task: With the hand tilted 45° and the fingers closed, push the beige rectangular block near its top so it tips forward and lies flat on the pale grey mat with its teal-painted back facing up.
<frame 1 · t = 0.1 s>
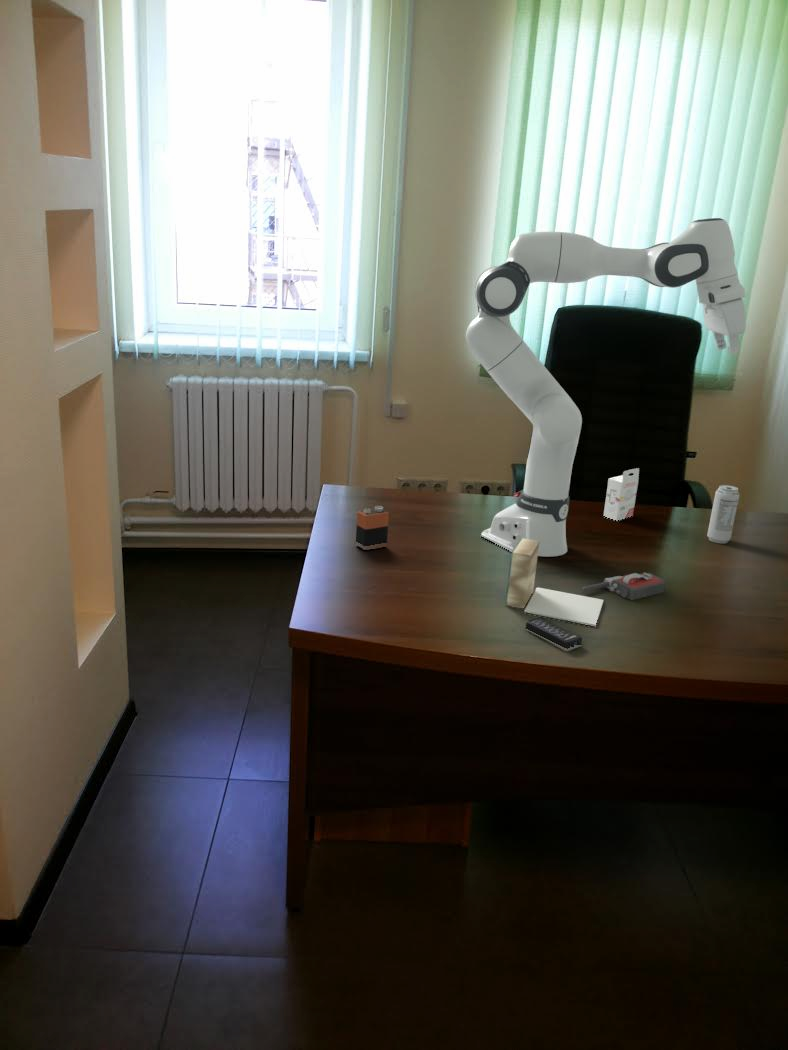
hand: (727, 351, 192), 52 cm above the table, tool tilted 20°, fingers open, 8 cm apart
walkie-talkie: (623, 594, 186), on the table
ink cartridge box: (617, 517, 241), on the table
multiport hub: (552, 640, 161), on the table
beige rectangular block: (519, 599, 178), on the table
energy drink can: (717, 541, 226), on the table
battery: (371, 547, 203), on the table
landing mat: (564, 607, 175), on the table
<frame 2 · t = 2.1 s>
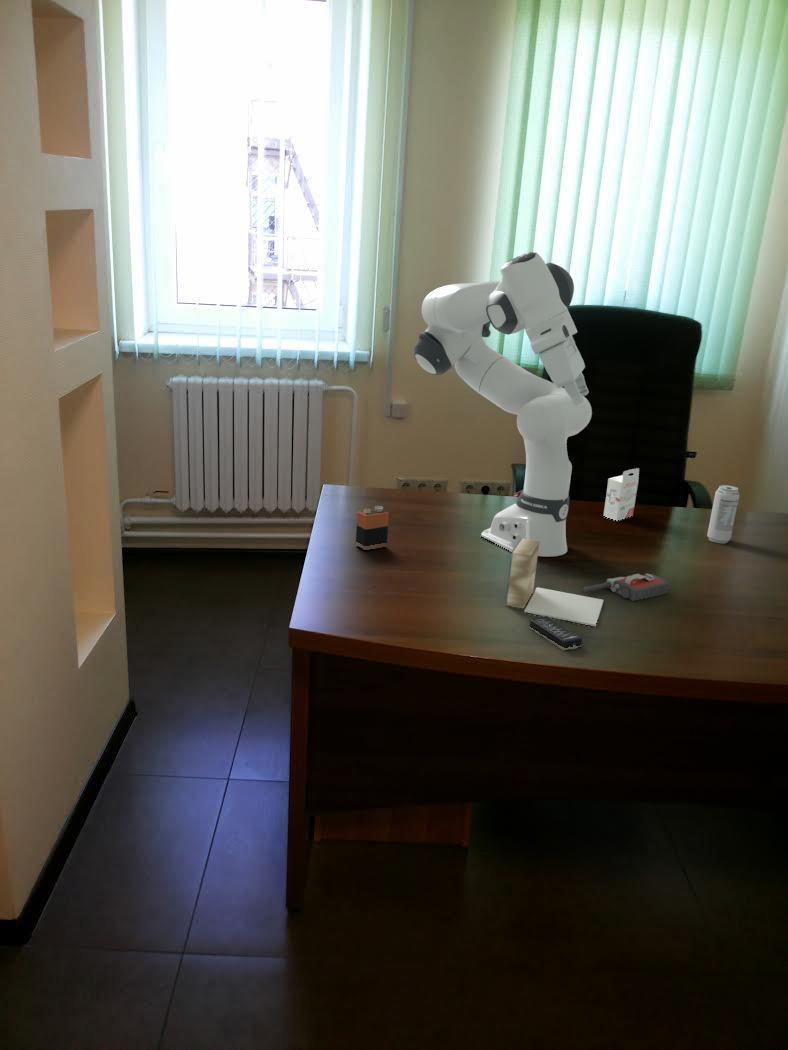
hand: (582, 399, 162), 44 cm above the table, tool tilted 30°, fingers open, 8 cm apart
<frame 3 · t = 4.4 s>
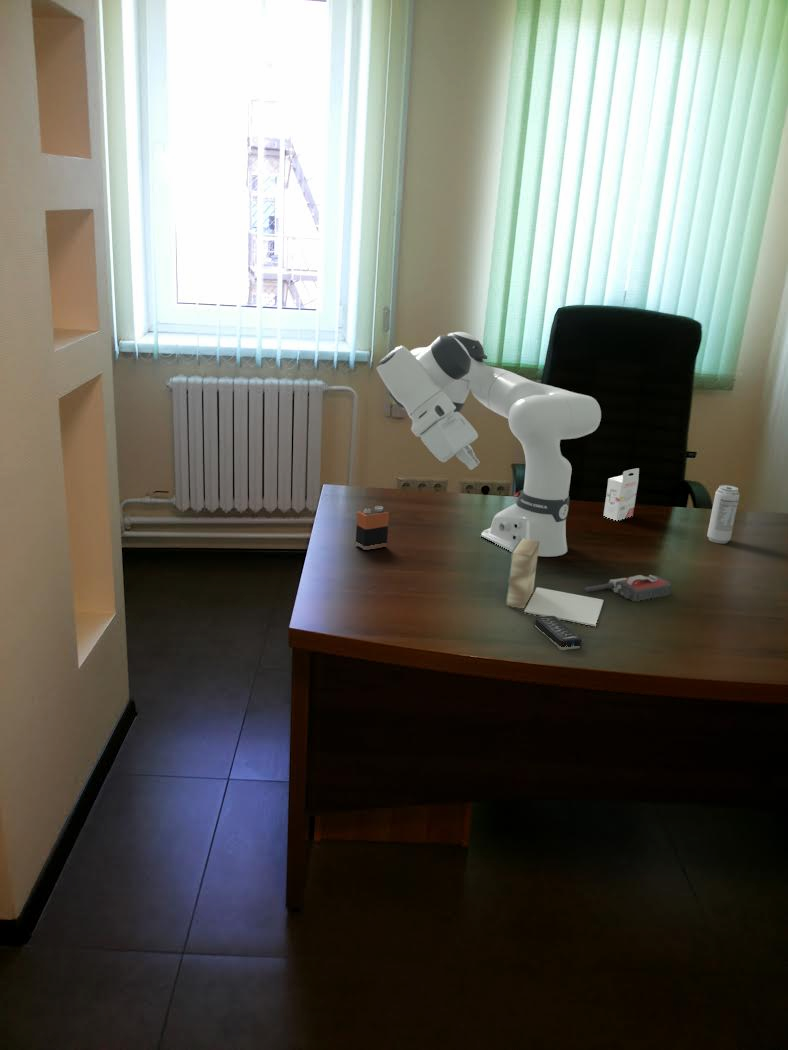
hand: (475, 466, 173), 27 cm above the table, tool tilted 45°, fingers closed
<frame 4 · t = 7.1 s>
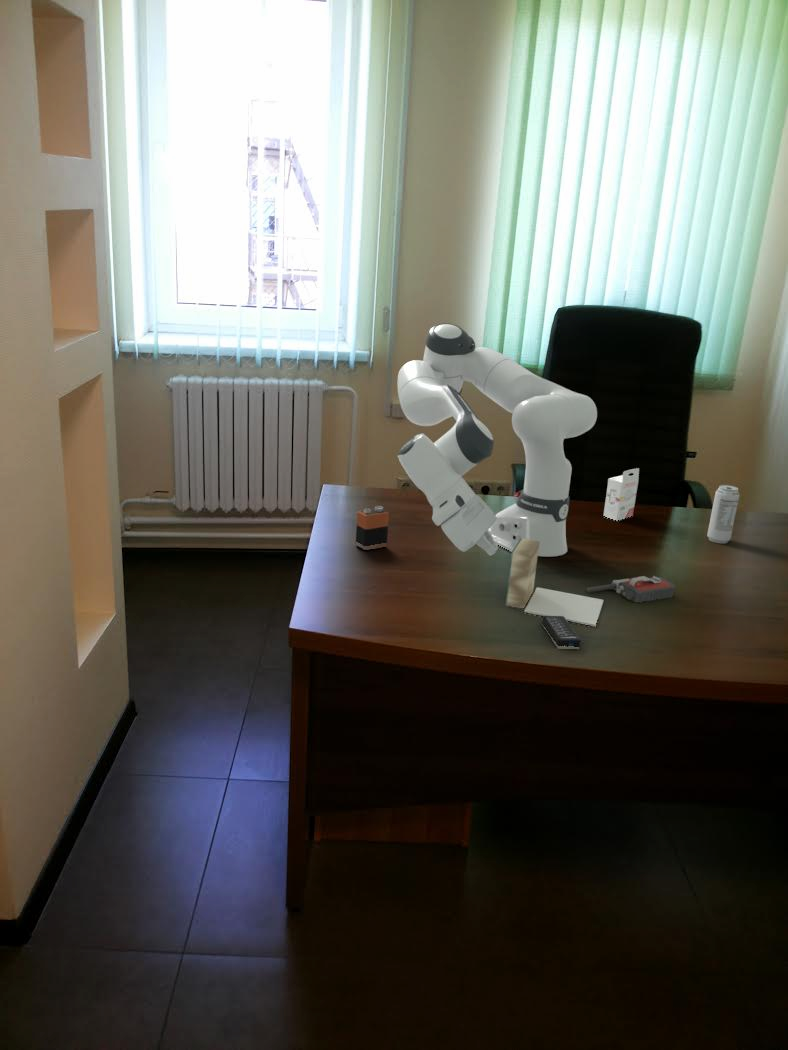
hand: (494, 552, 177), 9 cm above the table, tool tilted 45°, fingers closed
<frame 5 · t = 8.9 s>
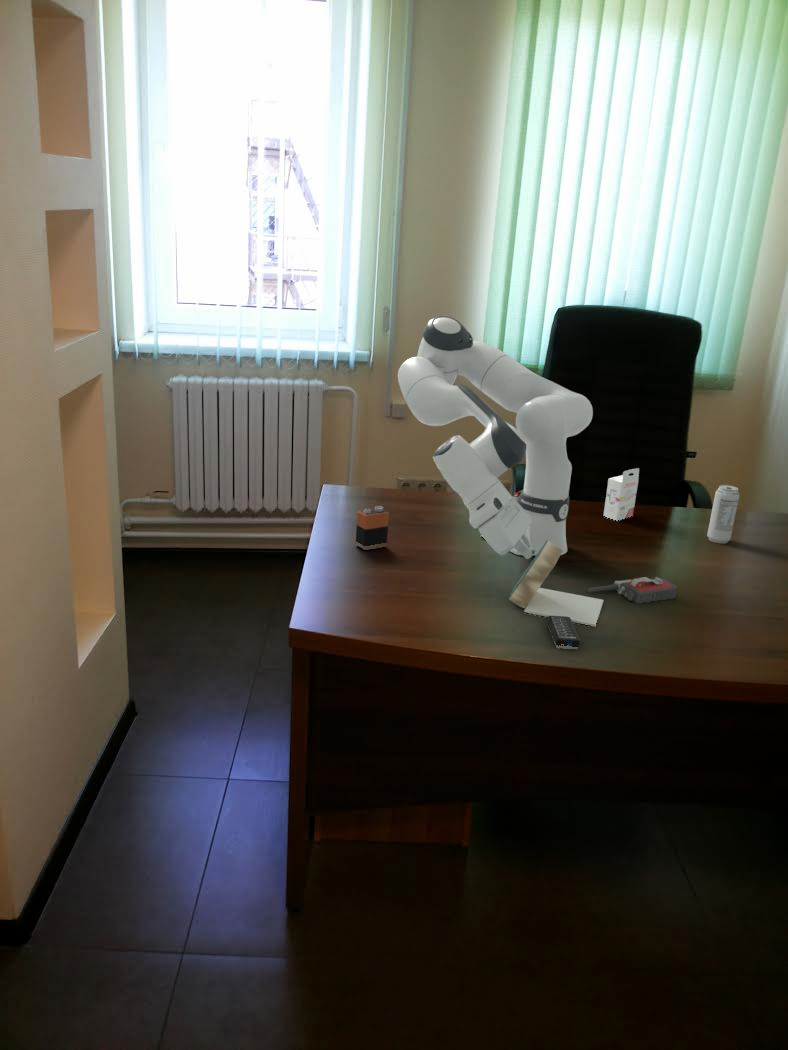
hand: (531, 555, 174), 10 cm above the table, tool tilted 45°, fingers closed
beige rectangular block: (520, 595, 178), point 1 cm above the table, tilted 25°
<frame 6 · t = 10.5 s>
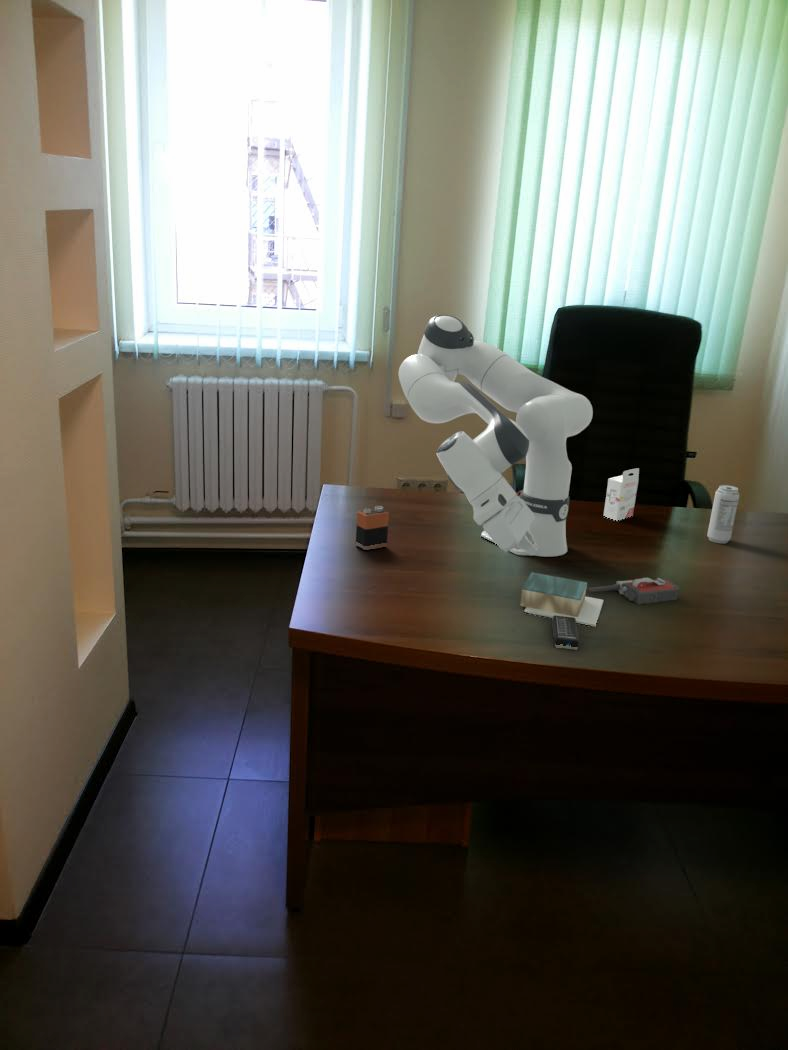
hand: (535, 552, 174), 11 cm above the table, tool tilted 45°, fingers closed
beige rectangular block: (526, 588, 177), point 3 cm above the table, tilted 90°, touching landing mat
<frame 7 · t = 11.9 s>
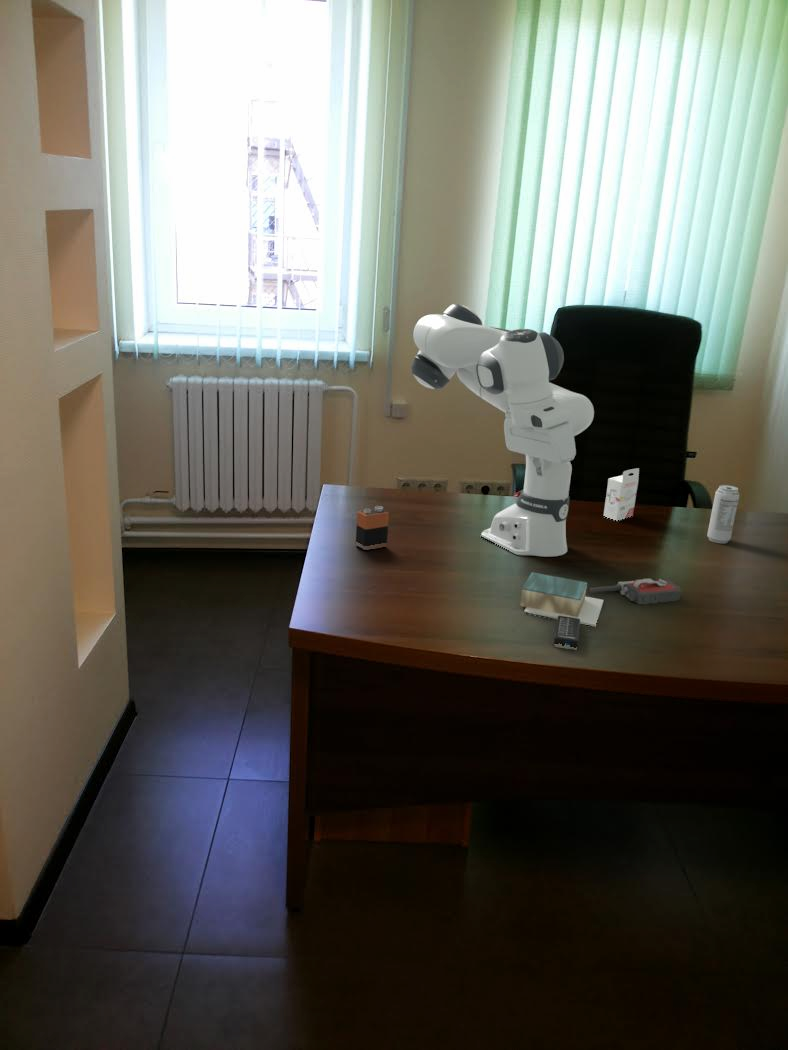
hand: (543, 476, 171), 27 cm above the table, tool tilted 15°, fingers closed
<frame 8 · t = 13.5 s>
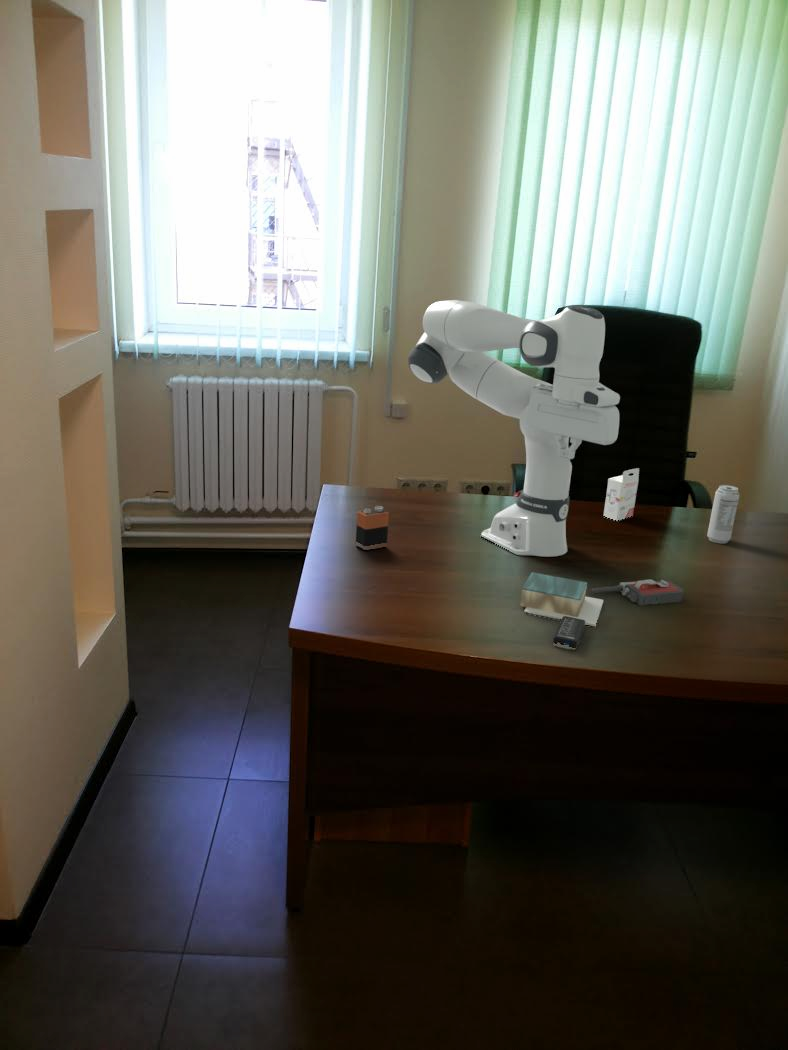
hand: (565, 457, 170), 31 cm above the table, tool pointing down, fingers closed
at the end: beige rectangular block tilted 90°; beige rectangular block touching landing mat; beige rectangular block moved 2.8 cm from its start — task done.
